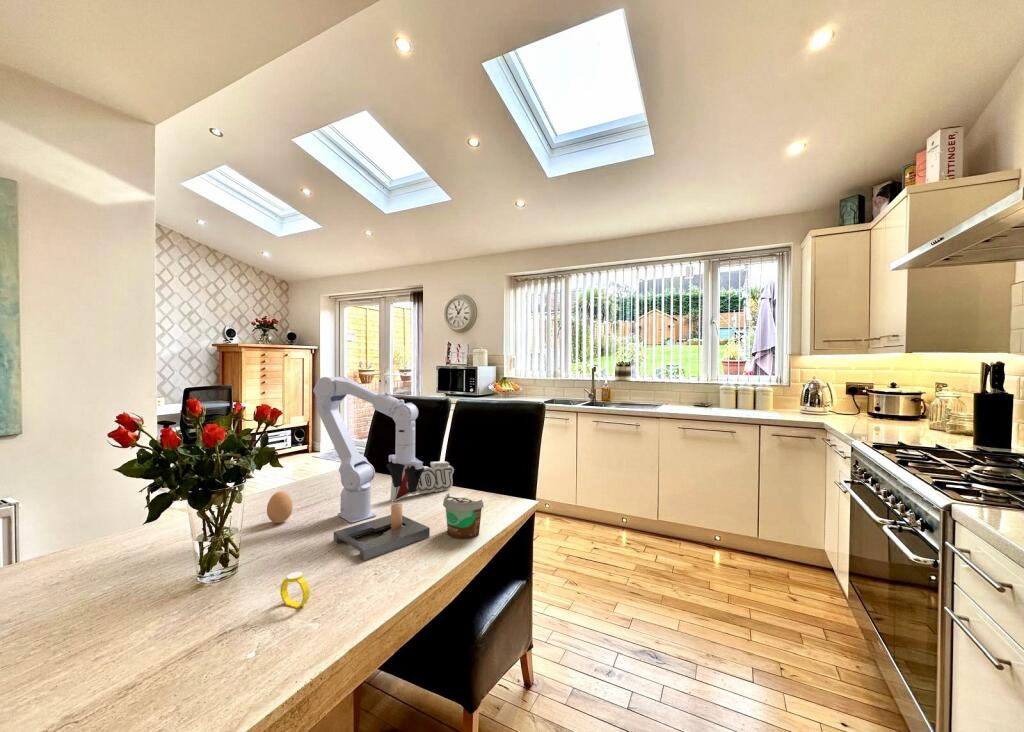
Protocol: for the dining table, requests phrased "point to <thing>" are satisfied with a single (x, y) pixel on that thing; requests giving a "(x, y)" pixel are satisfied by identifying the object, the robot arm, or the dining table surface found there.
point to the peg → (396, 516)
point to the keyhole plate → (384, 543)
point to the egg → (279, 507)
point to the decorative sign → (426, 480)
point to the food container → (462, 517)
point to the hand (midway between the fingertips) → (404, 489)
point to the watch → (304, 586)
